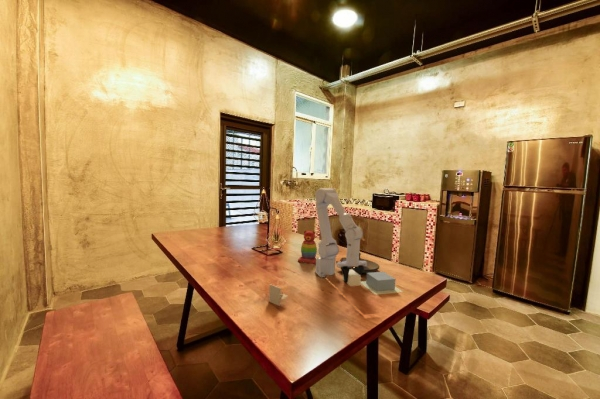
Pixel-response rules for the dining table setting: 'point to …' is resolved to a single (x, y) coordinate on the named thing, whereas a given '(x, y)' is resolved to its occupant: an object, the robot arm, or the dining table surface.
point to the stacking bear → (308, 248)
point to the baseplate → (380, 291)
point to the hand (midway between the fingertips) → (351, 281)
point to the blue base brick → (380, 281)
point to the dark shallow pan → (369, 268)
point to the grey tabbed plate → (276, 295)
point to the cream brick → (353, 278)
